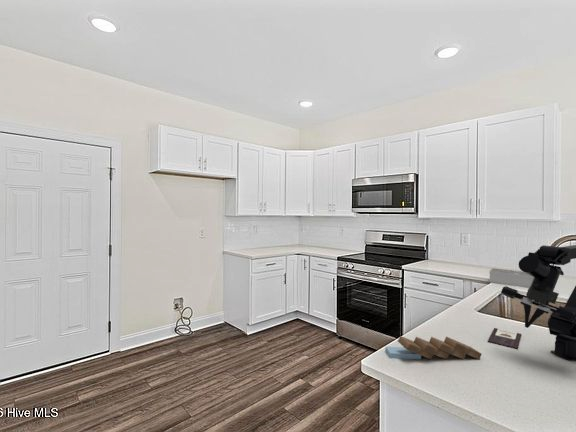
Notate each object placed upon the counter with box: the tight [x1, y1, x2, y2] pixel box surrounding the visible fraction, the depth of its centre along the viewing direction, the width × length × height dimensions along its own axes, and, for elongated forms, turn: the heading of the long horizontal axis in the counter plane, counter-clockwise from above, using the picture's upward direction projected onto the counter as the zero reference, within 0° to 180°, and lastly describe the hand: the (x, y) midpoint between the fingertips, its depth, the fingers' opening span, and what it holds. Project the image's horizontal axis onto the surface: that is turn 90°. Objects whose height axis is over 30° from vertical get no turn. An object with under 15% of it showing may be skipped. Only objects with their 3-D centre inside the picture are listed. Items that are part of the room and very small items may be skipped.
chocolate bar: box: [487, 327, 522, 350], centre depth 120 cm, size 9×1×18 cm
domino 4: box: [428, 336, 467, 360], centre depth 103 cm, size 2×5×10 cm
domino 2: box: [397, 335, 434, 360], centre depth 101 cm, size 2×5×10 cm
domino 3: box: [413, 336, 450, 360], centre depth 102 cm, size 2×5×10 cm
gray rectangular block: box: [489, 267, 534, 289], centre depth 219 cm, size 17×28×9 cm, turn 51°
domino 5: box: [443, 336, 482, 360], centre depth 103 cm, size 2×5×10 cm
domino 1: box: [384, 346, 422, 360], centre depth 103 cm, size 2×5×10 cm
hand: (526, 327), depth 100 cm, fingers closed
